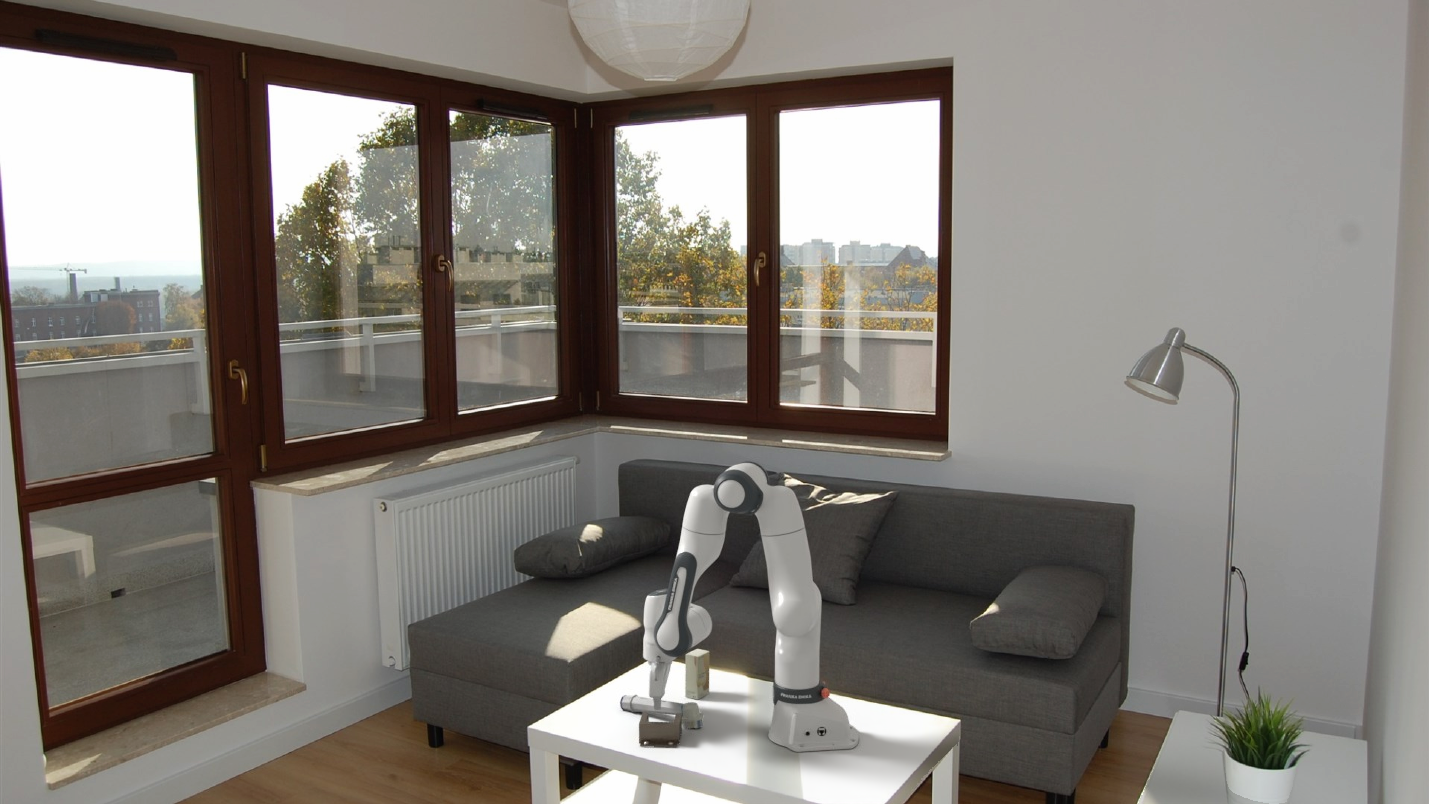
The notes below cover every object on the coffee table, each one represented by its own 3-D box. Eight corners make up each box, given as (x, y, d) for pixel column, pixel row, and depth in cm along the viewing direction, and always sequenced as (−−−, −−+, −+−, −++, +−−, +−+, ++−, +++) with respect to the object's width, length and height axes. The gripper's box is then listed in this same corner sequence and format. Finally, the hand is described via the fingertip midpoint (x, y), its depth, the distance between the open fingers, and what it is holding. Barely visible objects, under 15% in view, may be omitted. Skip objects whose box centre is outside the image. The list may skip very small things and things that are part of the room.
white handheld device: (629, 691, 290) (705, 697, 277) (632, 716, 291) (708, 723, 277) (617, 697, 286) (693, 704, 272) (620, 722, 286) (696, 730, 272)
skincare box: (697, 700, 294) (697, 657, 293) (684, 697, 296) (684, 654, 295) (710, 693, 300) (710, 650, 298) (697, 690, 302) (697, 647, 301)
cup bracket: (682, 732, 272) (681, 713, 272) (678, 747, 263) (678, 727, 263) (642, 731, 273) (642, 712, 273) (638, 746, 264) (637, 727, 263)
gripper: (668, 664, 269) (667, 717, 270) (675, 638, 289) (674, 688, 291) (643, 663, 269) (642, 717, 271) (652, 638, 290) (651, 687, 291)
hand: (659, 702), depth 281 cm, fingers open, 8 cm apart
